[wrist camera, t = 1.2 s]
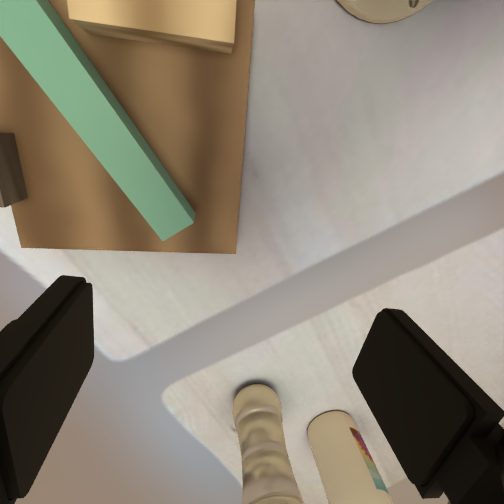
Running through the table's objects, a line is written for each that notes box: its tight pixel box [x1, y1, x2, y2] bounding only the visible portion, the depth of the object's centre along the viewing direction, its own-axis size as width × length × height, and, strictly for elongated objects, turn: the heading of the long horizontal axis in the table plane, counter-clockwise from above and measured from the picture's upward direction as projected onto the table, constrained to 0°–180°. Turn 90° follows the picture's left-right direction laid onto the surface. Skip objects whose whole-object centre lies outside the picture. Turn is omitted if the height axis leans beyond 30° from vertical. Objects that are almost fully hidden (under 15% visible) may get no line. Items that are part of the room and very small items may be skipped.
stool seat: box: [0, 0, 255, 254], centre depth 23 cm, size 19×20×6 cm
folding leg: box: [0, 0, 196, 241], centre depth 20 cm, size 19×3×3 cm, turn 30°
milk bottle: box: [307, 411, 393, 504], centre depth 37 cm, size 8×8×20 cm
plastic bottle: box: [233, 384, 304, 504], centre depth 31 cm, size 6×7×20 cm
